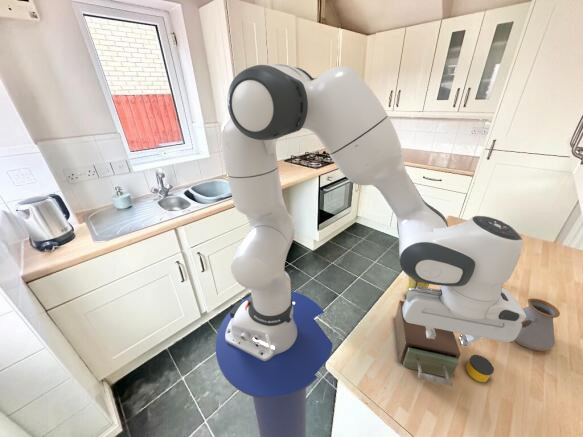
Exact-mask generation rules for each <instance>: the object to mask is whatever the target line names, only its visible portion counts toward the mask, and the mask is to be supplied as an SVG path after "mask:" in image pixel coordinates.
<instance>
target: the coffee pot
mask: <svg viewBox="0 0 583 437" xmlns="http://www.w3.org/2000/svg"><path fill="white" fill-rule="evenodd" d="M526 300H527V305H528V306H525V307H524V308H523V307H522V309H523V311H524V312H525V314H526V318H525V320H524V321H522V322H521V323H522V328H521V330H520V332H519V334H518V336H517V337H516V339H515V340H514V341H513V342H515V343H516V344H518V345H520V346H521V347H524V348H526V349H530V350H535V351H541V352H543V351H548V350H551V349H553V348H554V347H555V345H556V339H555V327H554V319H555V318H556V319H557V318H558V317H560V315H561V312H560V311H559V309H558V308H557V307H556V306H555V305H553V304H552V303H551V302H548V301H546V300H544V299H540V298H534V297H531V298H530V297H529V298H527V299H526Z"/></svg>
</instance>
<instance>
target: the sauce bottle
mask: <svg viewBox="0 0 583 437" xmlns="http://www.w3.org/2000/svg"><path fill="white" fill-rule="evenodd" d="M416 287H424V288H429V287H430V284H427V283H422V282H419V281H416V280H414V279H412V278H411V277H409V276H408V282H407V286H406V290H405V295H406V294H407V291H408V290H409V289H411V288H416Z"/></svg>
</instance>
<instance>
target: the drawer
mask: <svg viewBox="0 0 583 437" xmlns="http://www.w3.org/2000/svg"><path fill="white" fill-rule="evenodd" d="M451 356H452V355H451V354H447V353H442V352H438V351H433V350H428V349H424V348H419V347H415V346H410V345H409V346H408V349H407V352H406V355H405V358H404V361H403V363H402V367H403V368H407V369H411V370H415V371H417V378H418V379H419V380H423V381H427V382H431V383H434V384H439V385H443V386H447V387H453V381H452V378H453V376H454V374H455V372H456V370H457V368H458V366H459V364H460V361H459V359H458V358H454V357H451Z"/></svg>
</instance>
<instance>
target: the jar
mask: <svg viewBox="0 0 583 437" xmlns="http://www.w3.org/2000/svg"><path fill="white" fill-rule="evenodd" d="M465 370H466V372H467V374H468V375H469V376H470V377H471V378H472V379H473V380H475V381H477V382H479V383H486V382H488V380H489V379H490V377H491V375H493V374H494V372H495V369H494V365H493V363H491V361H490V360H489V359H487V357H484V356H483V355H480V354H472V355H470V358H469V360H468V361H467V364H466V366H465Z"/></svg>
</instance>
